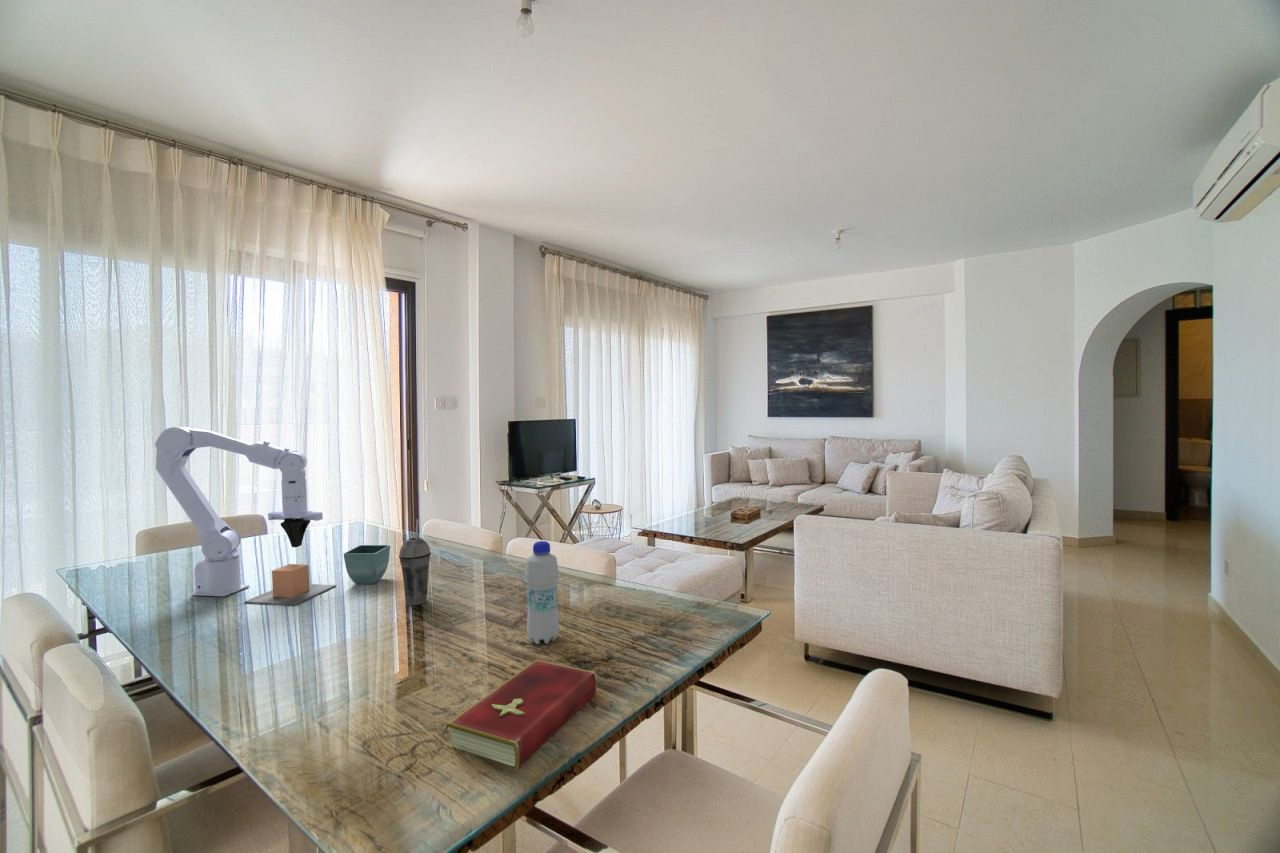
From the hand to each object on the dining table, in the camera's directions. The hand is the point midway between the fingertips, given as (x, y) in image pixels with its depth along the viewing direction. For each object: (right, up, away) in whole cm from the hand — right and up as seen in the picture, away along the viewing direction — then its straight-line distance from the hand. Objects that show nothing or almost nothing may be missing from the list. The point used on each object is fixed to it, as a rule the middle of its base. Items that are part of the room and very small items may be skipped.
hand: (296, 546), depth 152 cm
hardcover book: (+76, -12, -67) cm, 102 cm away
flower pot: (+19, -10, 0) cm, 22 cm away
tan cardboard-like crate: (+5, -10, -10) cm, 14 cm away
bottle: (+74, -11, -39) cm, 84 cm away
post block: (+5, -10, -9) cm, 15 cm away
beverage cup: (+39, -10, -16) cm, 43 cm away
